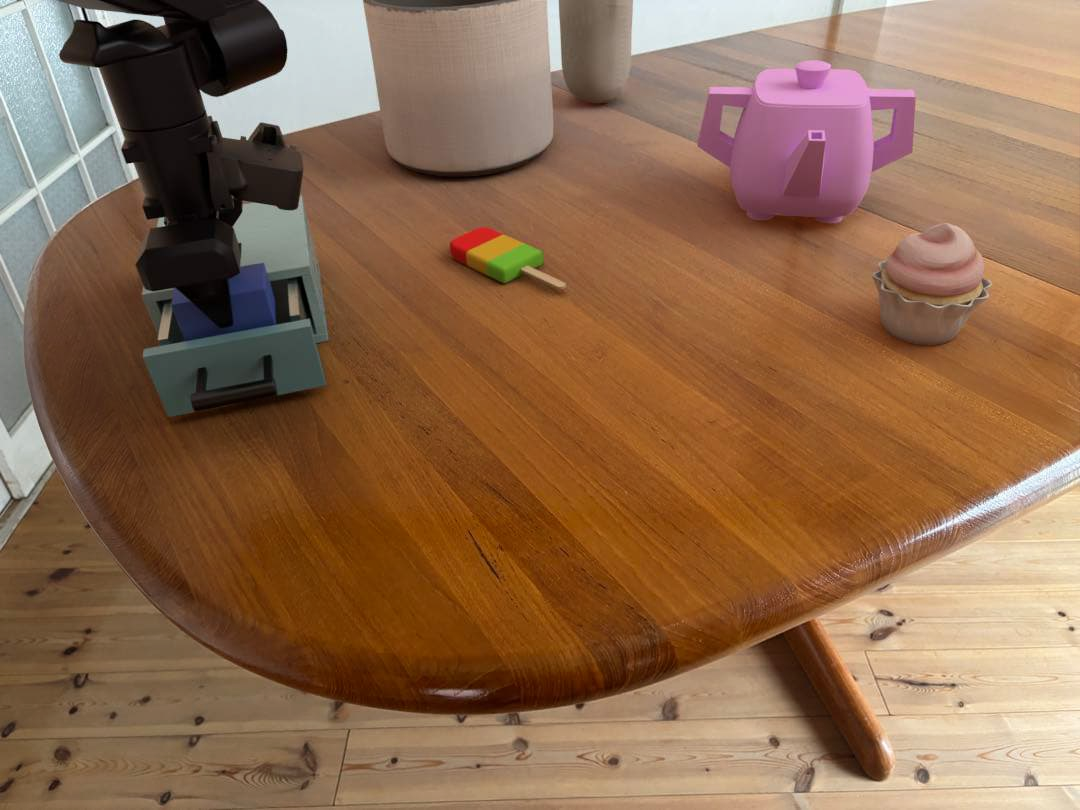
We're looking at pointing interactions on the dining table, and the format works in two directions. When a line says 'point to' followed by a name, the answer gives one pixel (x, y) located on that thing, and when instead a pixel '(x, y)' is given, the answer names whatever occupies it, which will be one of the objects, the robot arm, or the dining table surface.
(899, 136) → the teapot
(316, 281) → the cabinet
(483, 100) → the planter
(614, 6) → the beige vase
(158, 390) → the drawer
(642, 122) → the dining table surface
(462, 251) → the popsicle
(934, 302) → the cupcake
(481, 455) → the dining table surface
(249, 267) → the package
